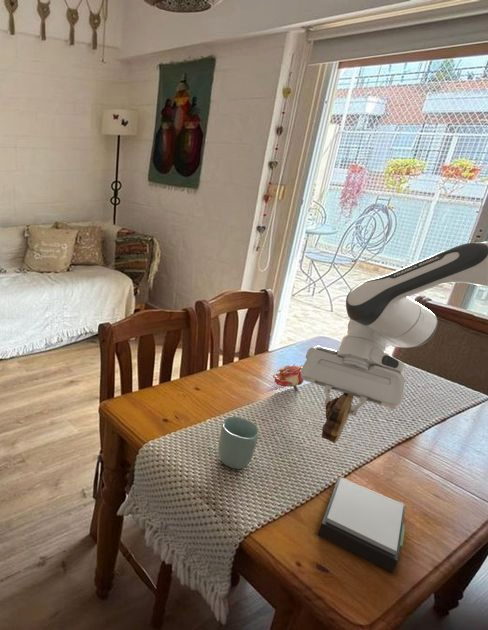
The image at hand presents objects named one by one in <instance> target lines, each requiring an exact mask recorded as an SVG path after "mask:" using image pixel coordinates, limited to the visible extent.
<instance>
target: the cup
mask: <svg viewBox="0 0 488 630" xmlns="http://www.w3.org/2000/svg"><path fill="white" fill-rule="evenodd" d="M259 433H260V431H259V428H258V427H257V424H255V423H253V422H252V421H250V420H248V419H245V418H243V417H238V416H237V417H236V416H230V417H227V418H225V419H224V420H223V422H222V424H221V428H220V433H219V439H218V445H217V446H218V447H217V449H218V450H217V451H218V453H217V454H218V457H219V459H220V461H221V462H222V464H223V465H225V466H227V467H229V468H231V469H233V470H241V469H245V468H246V467H247V466H248V465H249V464H250V462H251V461H252V459H253V456H254V453H255V450H256V446H257V442H258V438H259Z"/></svg>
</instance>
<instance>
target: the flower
mask: <svg viewBox="0 0 488 630" xmlns="http://www.w3.org/2000/svg"><path fill="white" fill-rule="evenodd" d="M303 365H304V364H303ZM303 365H300V366H298V365H296V363H294V364H293V365H286V366H283V367H281V368H279V369H276V371H277V372H279V373H275V374H273V375H272V378H273V379H274V382H273V383H275V384H276V386H281V387H290V388H292V387H293V390H294V391H295V392H298V391H299V389H298V387H297V386H301V385H303V383H304V382H305V380H303V379H302V377H301V375H300V372H301V369H302V367H303Z"/></svg>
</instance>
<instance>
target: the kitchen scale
mask: <svg viewBox="0 0 488 630" xmlns="http://www.w3.org/2000/svg"><path fill="white" fill-rule="evenodd" d="M405 513H406V505H405V504H404V503H403V502H400V501H398V500H396V499H392V498H390V497H388V496H387V495H383V494H381V493H379V492H376V491H374V490H371V489H370V488H367V487H365V486H362V485H360V484H358V483H356V482H354V481H350V480H349V479H346V478H344V477H337V480H336V482H335V485H334V488H333V491H332V494H331V496H330V499H329V501H328V505H327V508H326V511H325V513H324V515H323V519H322V521H321V525H320V528H319V530H318V533H317V535H318V536H319V537H322V538H323V539H325V540H327V541H329V542H330V543H333V544H335V545H337V546H339V547H341V548H343V549H344V550H347V551H349V552H351V553H353V554H355V555H357V556H358V557H361V558H363V559H365V560H367V561H369V562H371V563H373V564H374V565H376V566H378V567H380V568H382V569H384V570H386V571H388V572H390V573H393V572H394V571H395V568H396V565H397V564H398V561H399V557H400V556H399V555H400V553H401V550H402V548H403V546H404V545H403V544H404V539H405V538H404V537H405V531H406V526H405V524H404V521H405Z"/></svg>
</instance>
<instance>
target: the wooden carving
mask: <svg viewBox="0 0 488 630" xmlns="http://www.w3.org/2000/svg"><path fill="white" fill-rule="evenodd" d="M332 399H333V400H332V401H329V402H328V403H327V404H326V406H325V419H326V421H325V423H324V424H323V425H322V428H321V430H322V432H321V438H323V439H325V440H328V441H329V442H331V443H333V444H336V443H337V442H338V441H339V439H340V437H341V435H342V433H343V431H344V428H345V426H346V424H347V422H348V420H349V417H350V414H348V412H349V409H350V406H351V405H352V406H353V399H354V395H353V394H349V393H346V392H345V393H342V394H341V395H339V396H336V397H335V398H332Z"/></svg>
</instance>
